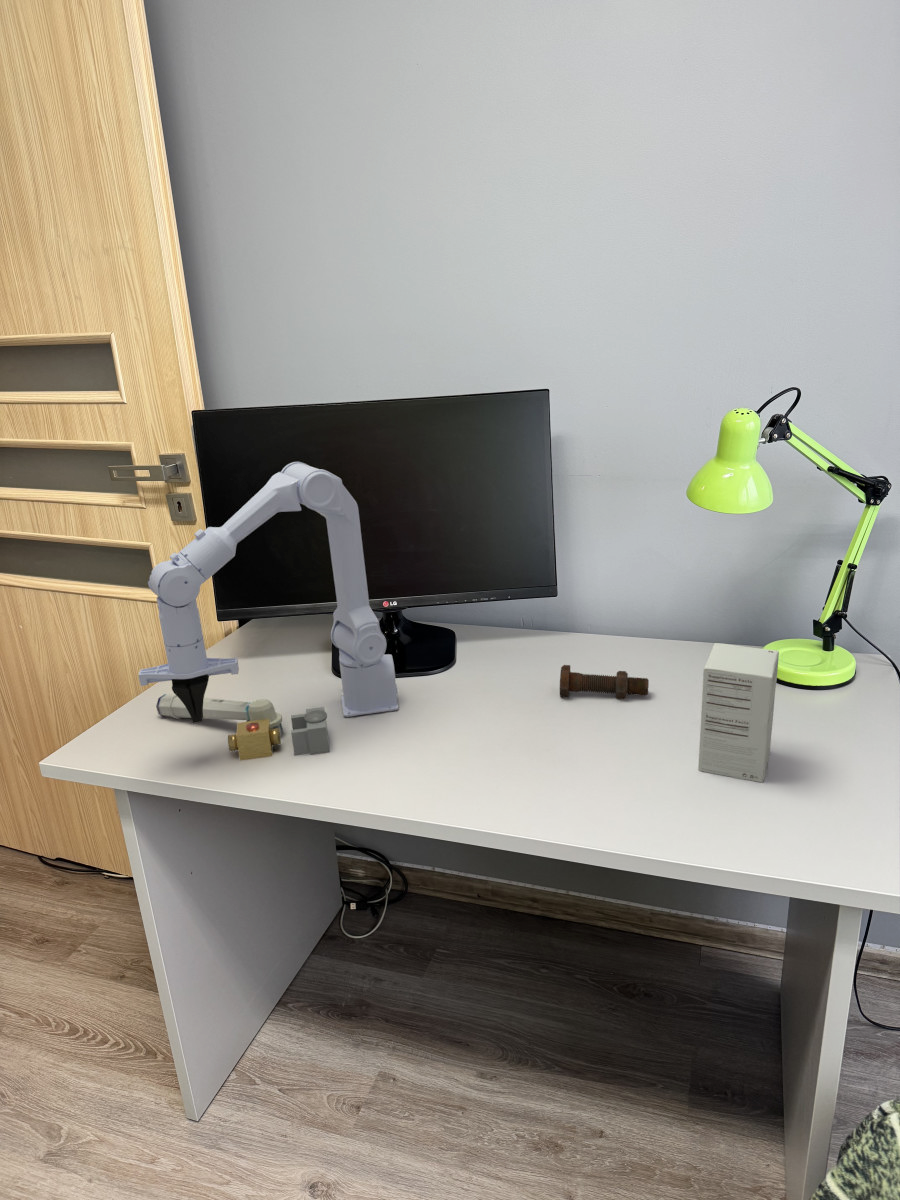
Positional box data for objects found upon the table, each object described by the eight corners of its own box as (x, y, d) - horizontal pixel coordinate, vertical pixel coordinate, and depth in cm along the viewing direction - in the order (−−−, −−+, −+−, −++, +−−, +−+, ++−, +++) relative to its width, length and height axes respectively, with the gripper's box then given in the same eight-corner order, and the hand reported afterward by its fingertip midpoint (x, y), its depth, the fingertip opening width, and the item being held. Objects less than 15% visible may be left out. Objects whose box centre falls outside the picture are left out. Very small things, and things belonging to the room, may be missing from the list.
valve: (281, 741, 137) (278, 715, 135) (281, 755, 132) (277, 728, 131) (232, 748, 135) (227, 722, 134) (230, 762, 131) (225, 735, 130)
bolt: (646, 708, 144) (559, 702, 147) (647, 684, 147) (561, 678, 150) (649, 690, 139) (559, 683, 142) (649, 665, 142) (561, 659, 145)
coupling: (329, 730, 139) (325, 704, 137) (331, 751, 132) (327, 724, 131) (294, 735, 138) (290, 709, 136) (294, 756, 132) (290, 729, 130)
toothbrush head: (171, 688, 149) (282, 691, 138) (181, 721, 151) (291, 727, 140) (150, 700, 145) (263, 705, 133) (161, 735, 147) (273, 742, 135)
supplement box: (707, 740, 129) (713, 640, 123) (771, 750, 125) (780, 648, 119) (696, 771, 121) (702, 667, 115) (763, 784, 117) (773, 676, 111)
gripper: (234, 624, 130) (246, 701, 135) (138, 635, 128) (153, 713, 133) (231, 641, 124) (244, 722, 128) (130, 653, 121) (147, 735, 126)
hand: (198, 719), depth 130 cm, fingers closed
